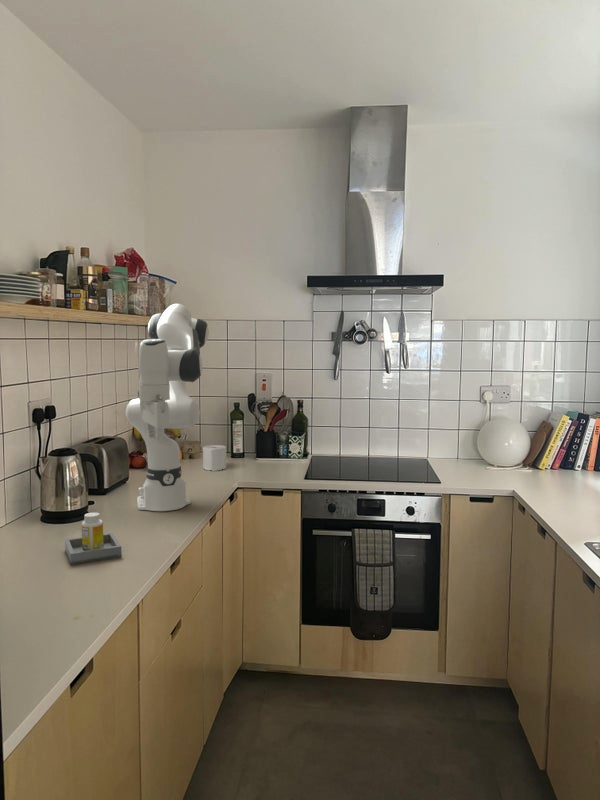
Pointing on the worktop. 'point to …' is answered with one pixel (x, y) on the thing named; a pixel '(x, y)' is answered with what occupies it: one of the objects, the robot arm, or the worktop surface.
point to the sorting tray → (79, 556)
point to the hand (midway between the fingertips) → (155, 439)
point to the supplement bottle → (92, 532)
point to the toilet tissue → (214, 457)
